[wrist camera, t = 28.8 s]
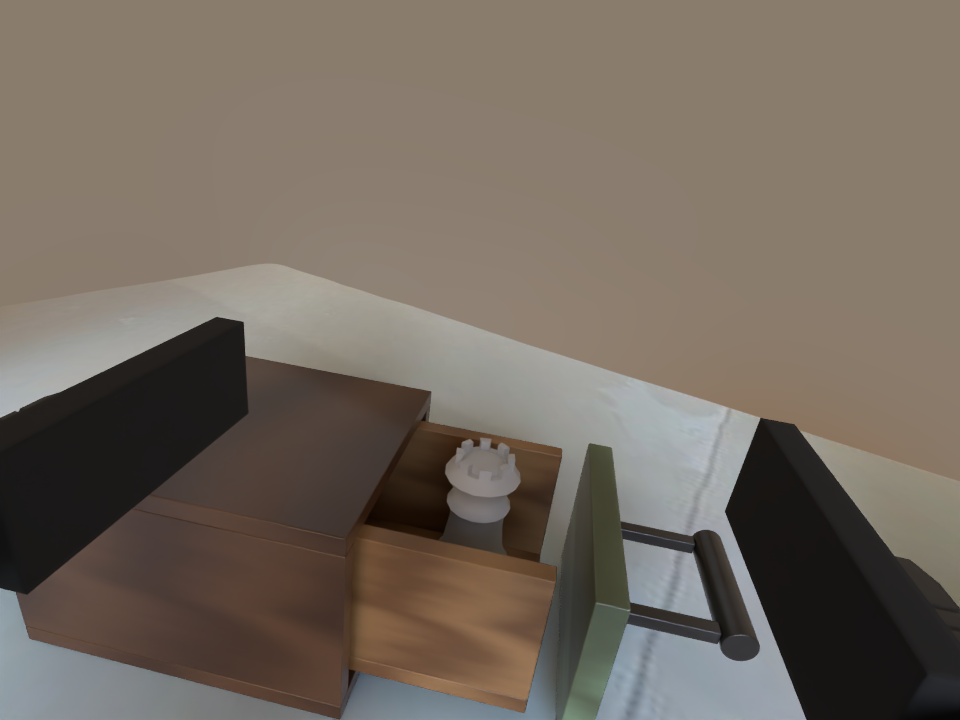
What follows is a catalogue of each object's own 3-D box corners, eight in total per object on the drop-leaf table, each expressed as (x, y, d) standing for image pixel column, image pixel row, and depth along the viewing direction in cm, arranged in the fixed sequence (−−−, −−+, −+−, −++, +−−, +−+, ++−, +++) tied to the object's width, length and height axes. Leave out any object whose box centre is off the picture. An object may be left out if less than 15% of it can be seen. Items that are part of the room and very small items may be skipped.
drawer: (684, 583, 30) (726, 469, 27) (736, 791, 20) (810, 650, 17) (363, 512, 32) (368, 399, 29) (271, 672, 22) (264, 527, 19)
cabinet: (417, 529, 32) (431, 391, 28) (340, 720, 22) (346, 539, 18) (201, 482, 34) (187, 344, 30) (28, 638, 23) (-26, 455, 19)
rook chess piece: (516, 572, 27) (543, 439, 24) (502, 646, 23) (531, 498, 20) (433, 550, 28) (448, 418, 25) (404, 619, 24) (418, 471, 21)
